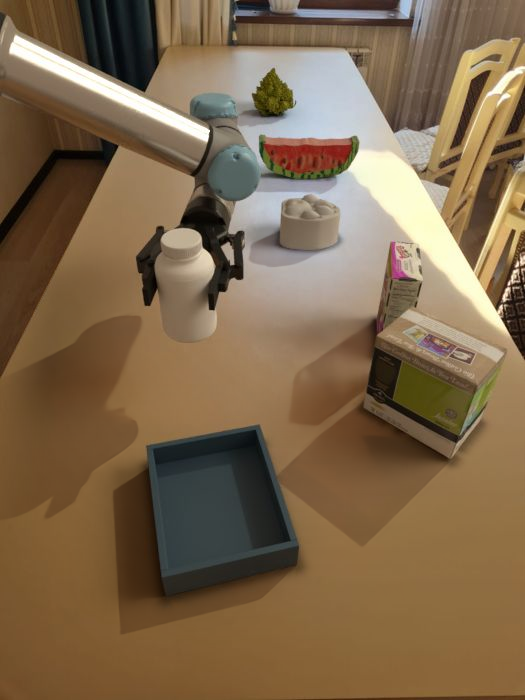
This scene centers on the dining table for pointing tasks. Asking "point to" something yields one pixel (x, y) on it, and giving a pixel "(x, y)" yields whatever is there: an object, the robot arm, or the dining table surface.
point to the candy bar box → (399, 283)
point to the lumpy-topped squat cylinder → (308, 223)
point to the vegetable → (273, 95)
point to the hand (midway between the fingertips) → (178, 299)
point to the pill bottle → (185, 286)
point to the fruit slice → (308, 156)
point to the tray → (218, 509)
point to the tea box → (432, 379)
